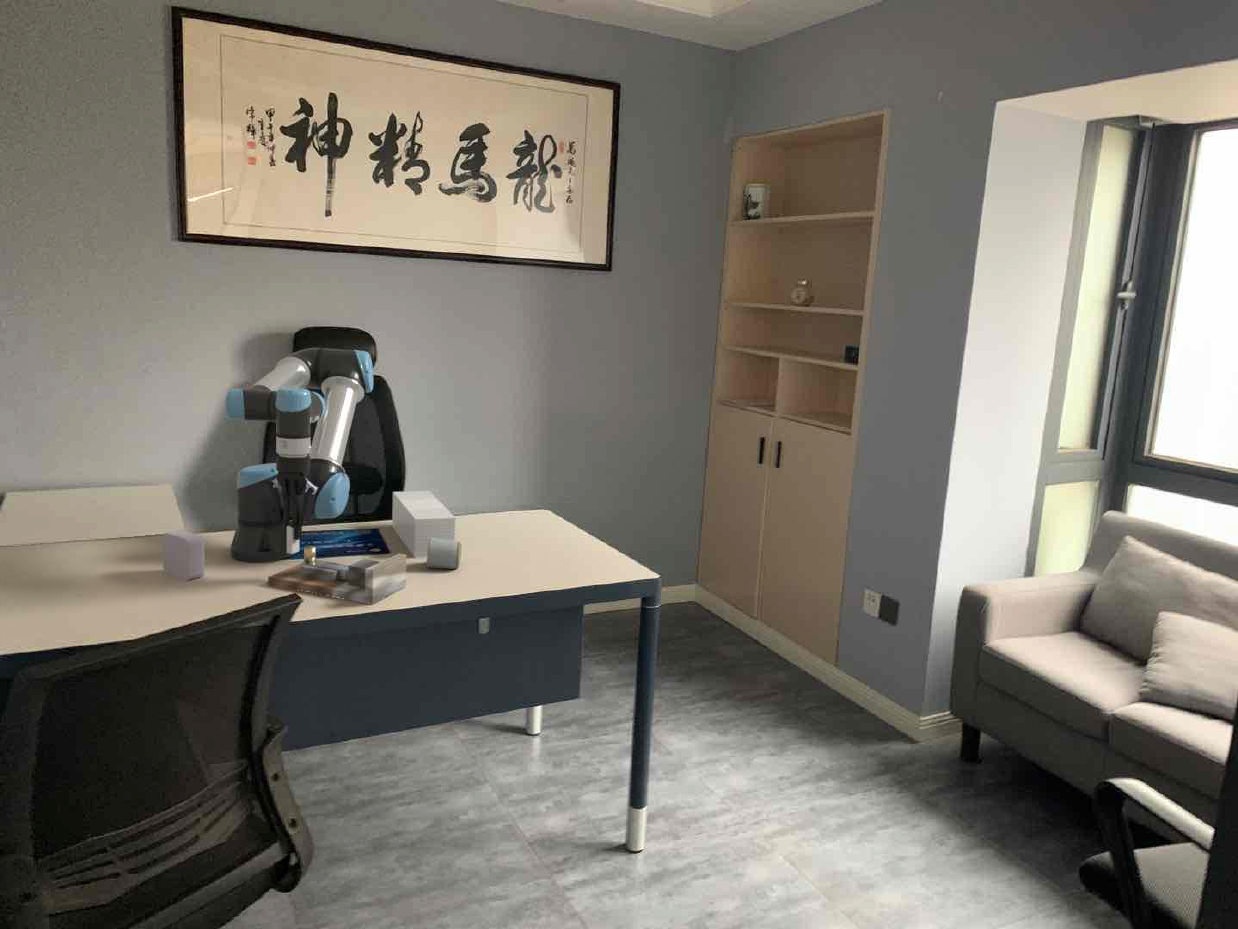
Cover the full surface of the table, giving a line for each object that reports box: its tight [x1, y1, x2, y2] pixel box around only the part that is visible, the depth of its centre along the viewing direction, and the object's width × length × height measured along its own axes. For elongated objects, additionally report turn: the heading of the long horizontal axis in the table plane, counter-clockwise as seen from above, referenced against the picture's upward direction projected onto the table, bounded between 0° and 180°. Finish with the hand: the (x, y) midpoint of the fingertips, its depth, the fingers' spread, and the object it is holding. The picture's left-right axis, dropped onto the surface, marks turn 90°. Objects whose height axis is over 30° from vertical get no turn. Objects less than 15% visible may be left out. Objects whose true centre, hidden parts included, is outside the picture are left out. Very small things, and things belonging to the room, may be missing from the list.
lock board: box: [267, 553, 407, 605], centre depth 214 cm, size 28×14×8 cm, turn 72°
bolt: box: [301, 545, 349, 580], centre depth 215 cm, size 12×3×6 cm, turn 72°
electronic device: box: [161, 529, 206, 581], centre depth 215 cm, size 10×5×10 cm, turn 59°
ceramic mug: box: [426, 538, 462, 570], centre depth 235 cm, size 11×8×8 cm
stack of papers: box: [391, 490, 456, 559], centre depth 256 cm, size 32×11×11 cm, turn 24°
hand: (293, 552), depth 217 cm, fingers closed
